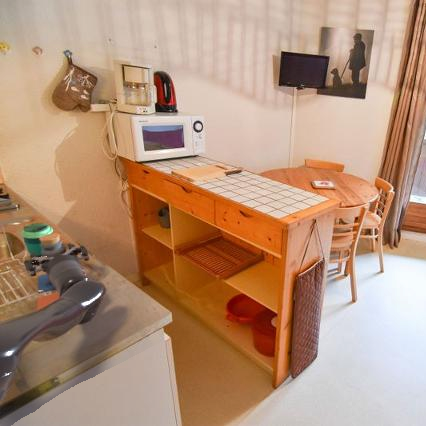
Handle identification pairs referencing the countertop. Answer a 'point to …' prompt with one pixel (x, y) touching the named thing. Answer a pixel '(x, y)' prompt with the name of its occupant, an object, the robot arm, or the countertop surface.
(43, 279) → the mats
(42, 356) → the countertop surface
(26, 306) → the countertop surface
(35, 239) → the cup
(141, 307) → the countertop surface
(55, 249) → the bottle
